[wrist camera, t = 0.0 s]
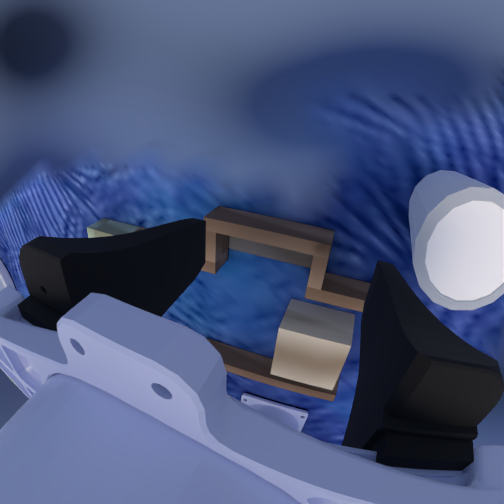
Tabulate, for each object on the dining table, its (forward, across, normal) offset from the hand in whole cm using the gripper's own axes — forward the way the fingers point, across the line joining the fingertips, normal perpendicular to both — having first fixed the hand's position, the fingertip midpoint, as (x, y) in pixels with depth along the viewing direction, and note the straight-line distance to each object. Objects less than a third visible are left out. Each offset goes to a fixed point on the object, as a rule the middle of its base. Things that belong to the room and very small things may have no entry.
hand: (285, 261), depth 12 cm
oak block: (+10, -2, +12) cm, 16 cm away
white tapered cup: (+10, -9, -1) cm, 14 cm away
